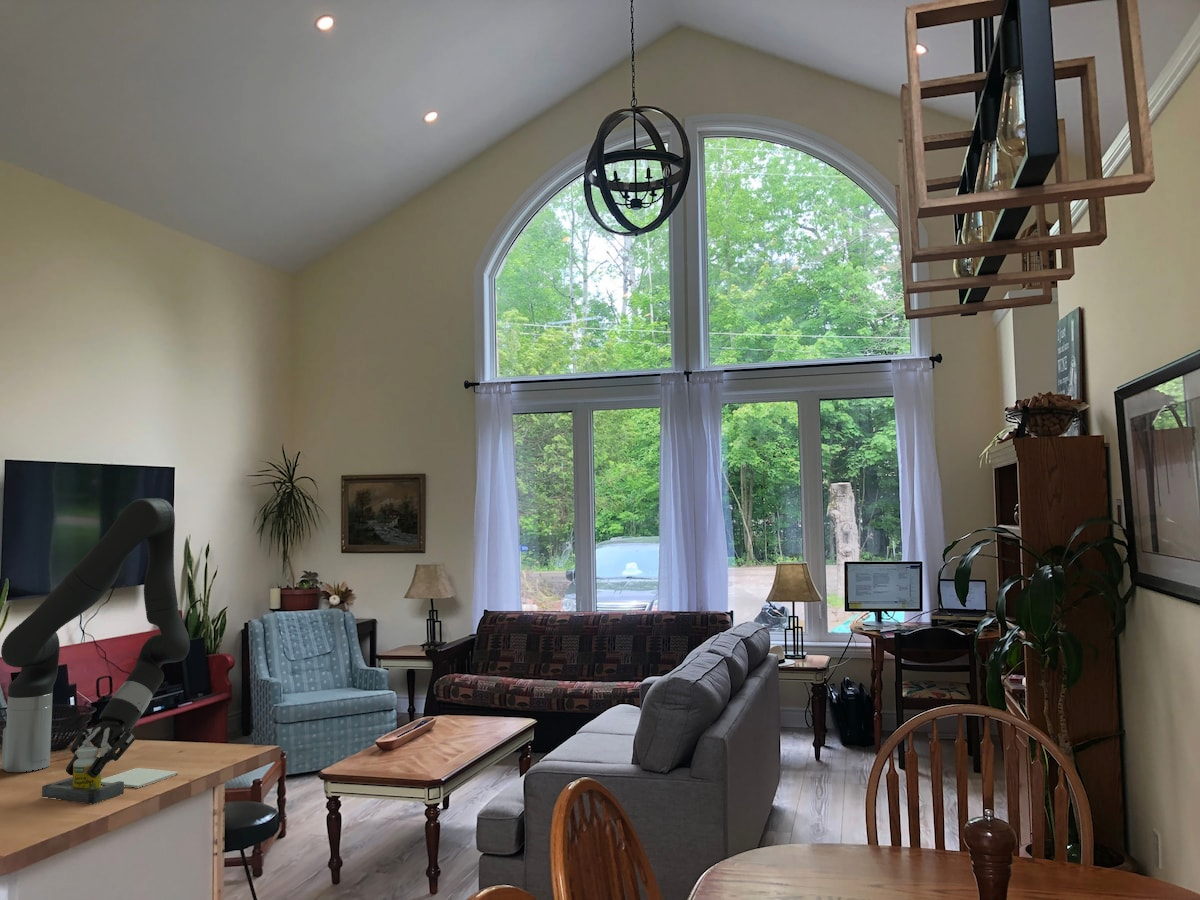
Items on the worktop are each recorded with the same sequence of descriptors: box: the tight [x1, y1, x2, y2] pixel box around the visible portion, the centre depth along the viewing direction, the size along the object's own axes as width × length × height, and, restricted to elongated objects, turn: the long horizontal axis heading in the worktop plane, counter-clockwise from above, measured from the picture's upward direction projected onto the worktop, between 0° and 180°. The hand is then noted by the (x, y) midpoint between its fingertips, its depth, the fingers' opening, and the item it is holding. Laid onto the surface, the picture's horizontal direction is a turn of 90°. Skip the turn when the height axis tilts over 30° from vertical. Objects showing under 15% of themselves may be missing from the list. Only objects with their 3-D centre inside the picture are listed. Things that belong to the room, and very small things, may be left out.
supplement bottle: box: [72, 746, 102, 789], centre depth 200 cm, size 5×5×10 cm
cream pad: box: [101, 767, 180, 789], centre depth 211 cm, size 12×12×1 cm
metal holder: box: [41, 776, 125, 805], centre depth 199 cm, size 14×8×2 cm, turn 72°
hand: (80, 774), depth 198 cm, fingers closed on supplement bottle, 5 cm apart
